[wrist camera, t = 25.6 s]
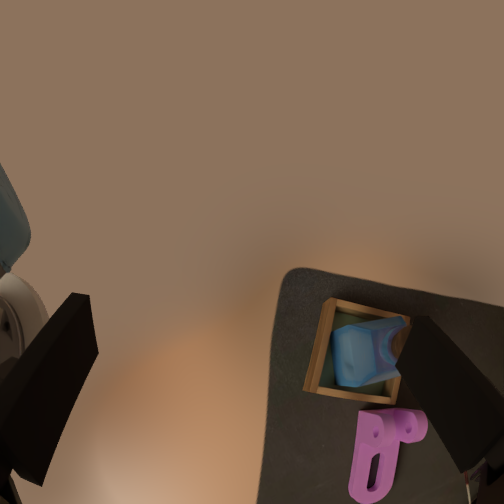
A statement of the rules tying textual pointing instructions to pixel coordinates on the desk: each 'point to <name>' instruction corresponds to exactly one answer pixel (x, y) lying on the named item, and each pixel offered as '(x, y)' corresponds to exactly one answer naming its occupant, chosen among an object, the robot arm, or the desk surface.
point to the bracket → (382, 448)
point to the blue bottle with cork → (368, 351)
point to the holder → (321, 359)
